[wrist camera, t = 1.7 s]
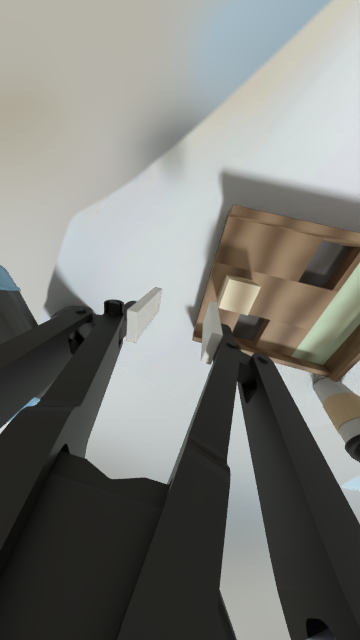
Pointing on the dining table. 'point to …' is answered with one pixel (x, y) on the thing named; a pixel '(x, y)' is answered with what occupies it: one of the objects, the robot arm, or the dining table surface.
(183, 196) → the dining table surface
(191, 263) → the dining table surface
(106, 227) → the dining table surface
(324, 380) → the coffee cup
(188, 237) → the dining table surface
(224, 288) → the birch block
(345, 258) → the box
